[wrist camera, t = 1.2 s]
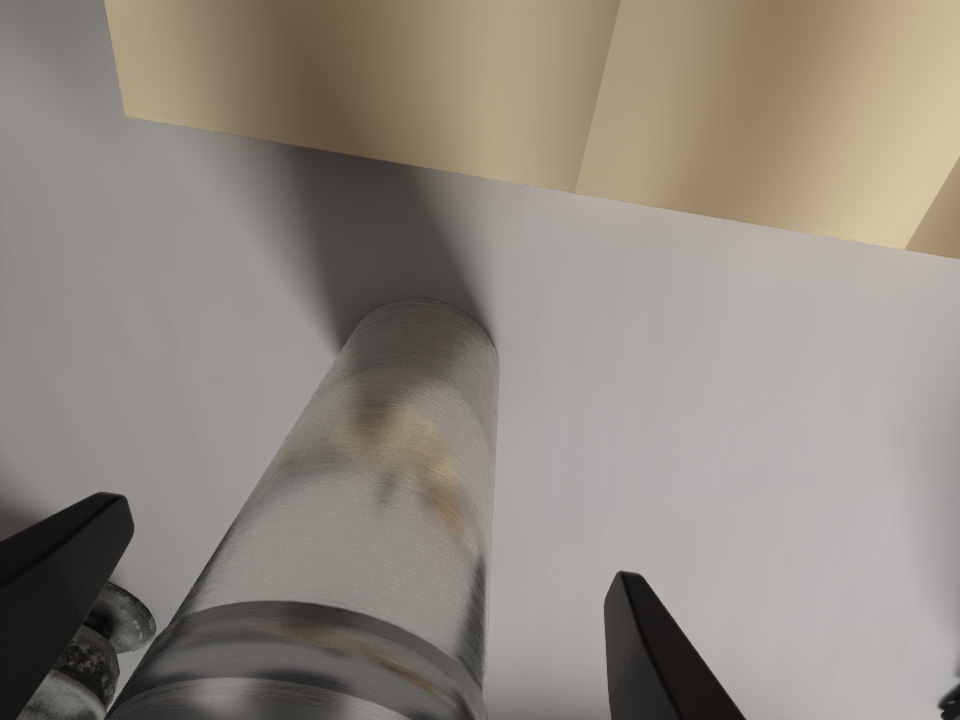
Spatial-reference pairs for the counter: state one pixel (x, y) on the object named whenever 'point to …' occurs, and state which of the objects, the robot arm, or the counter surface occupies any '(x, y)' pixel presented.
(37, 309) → the counter surface
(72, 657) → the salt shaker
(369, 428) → the grey cylindrical piece
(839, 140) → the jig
